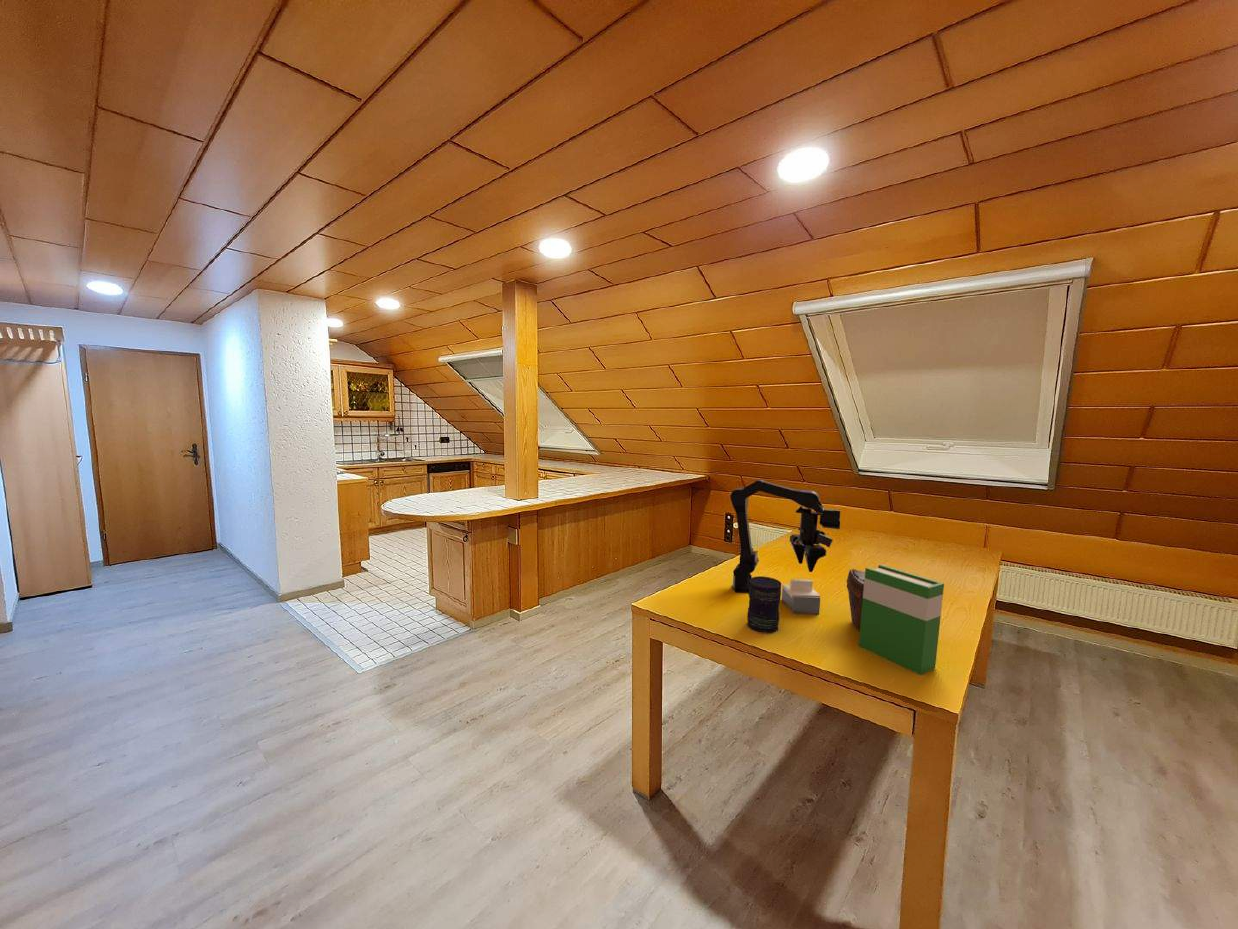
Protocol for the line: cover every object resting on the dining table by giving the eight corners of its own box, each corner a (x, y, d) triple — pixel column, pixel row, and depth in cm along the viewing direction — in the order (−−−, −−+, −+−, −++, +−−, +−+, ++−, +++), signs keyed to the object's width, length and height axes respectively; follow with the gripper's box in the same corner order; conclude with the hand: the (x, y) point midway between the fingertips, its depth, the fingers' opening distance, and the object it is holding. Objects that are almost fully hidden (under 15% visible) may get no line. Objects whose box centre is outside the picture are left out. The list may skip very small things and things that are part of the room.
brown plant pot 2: (924, 638, 150) (929, 582, 148) (866, 642, 146) (870, 585, 145) (884, 615, 167) (887, 564, 165) (831, 618, 164) (834, 566, 162)
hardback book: (858, 646, 144) (865, 568, 141) (873, 641, 147) (880, 564, 145) (920, 675, 129) (929, 588, 126) (935, 668, 132) (944, 583, 130)
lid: (791, 598, 167) (792, 585, 166) (782, 587, 176) (783, 575, 176) (819, 599, 166) (820, 585, 166) (809, 588, 176) (809, 576, 176)
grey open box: (792, 613, 166) (794, 597, 165) (781, 599, 178) (782, 584, 177) (819, 614, 166) (820, 598, 165) (806, 600, 178) (807, 585, 177)
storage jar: (774, 636, 148) (777, 589, 147) (742, 628, 154) (745, 582, 152) (782, 625, 157) (785, 580, 155) (752, 617, 162) (754, 574, 160)
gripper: (843, 533, 166) (839, 577, 167) (819, 520, 184) (816, 560, 186) (810, 532, 165) (807, 576, 167) (790, 519, 184) (787, 559, 186)
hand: (805, 567), depth 177 cm, fingers open, 9 cm apart
